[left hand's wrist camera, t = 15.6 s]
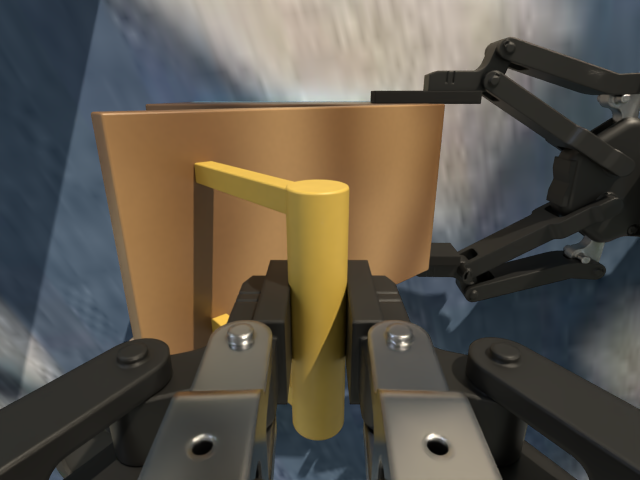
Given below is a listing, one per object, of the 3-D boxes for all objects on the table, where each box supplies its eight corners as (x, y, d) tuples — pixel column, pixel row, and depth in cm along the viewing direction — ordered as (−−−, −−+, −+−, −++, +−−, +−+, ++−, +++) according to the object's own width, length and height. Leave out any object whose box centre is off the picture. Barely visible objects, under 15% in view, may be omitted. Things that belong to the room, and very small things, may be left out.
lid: (141, 381, 16) (249, 545, 10) (89, 111, 12) (210, 125, 6) (413, 264, 27) (539, 310, 21) (426, 103, 23) (583, 106, 17)
